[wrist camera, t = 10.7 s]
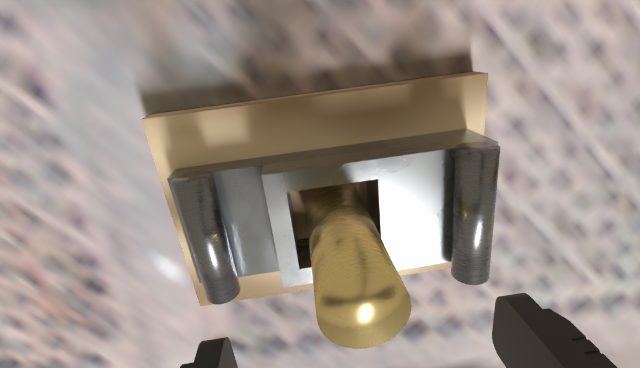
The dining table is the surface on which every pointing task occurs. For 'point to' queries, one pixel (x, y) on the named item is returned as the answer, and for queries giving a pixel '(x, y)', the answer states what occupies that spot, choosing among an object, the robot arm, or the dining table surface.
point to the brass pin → (352, 271)
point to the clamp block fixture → (329, 180)
